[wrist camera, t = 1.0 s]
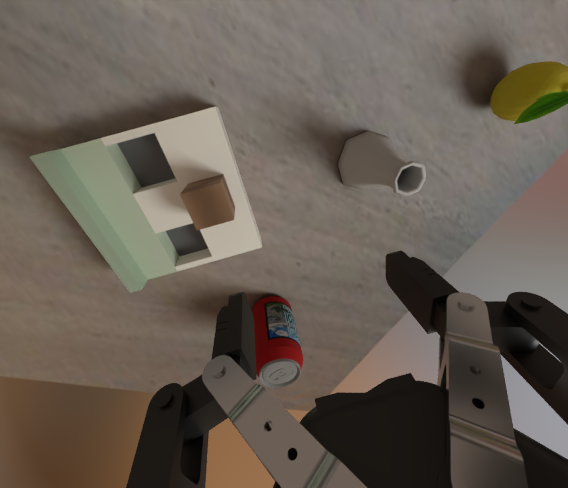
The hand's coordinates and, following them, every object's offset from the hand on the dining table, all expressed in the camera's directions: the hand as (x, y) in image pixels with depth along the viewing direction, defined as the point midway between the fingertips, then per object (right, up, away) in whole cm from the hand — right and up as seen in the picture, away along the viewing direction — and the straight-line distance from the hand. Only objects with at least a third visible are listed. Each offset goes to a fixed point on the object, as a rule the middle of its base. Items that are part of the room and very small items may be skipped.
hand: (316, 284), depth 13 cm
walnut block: (-10, +8, +14) cm, 19 cm away
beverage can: (-4, -9, +28) cm, 29 cm away
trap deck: (-15, +8, +17) cm, 24 cm away
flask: (+9, +13, +18) cm, 24 cm away
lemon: (+24, +21, +17) cm, 36 cm away
